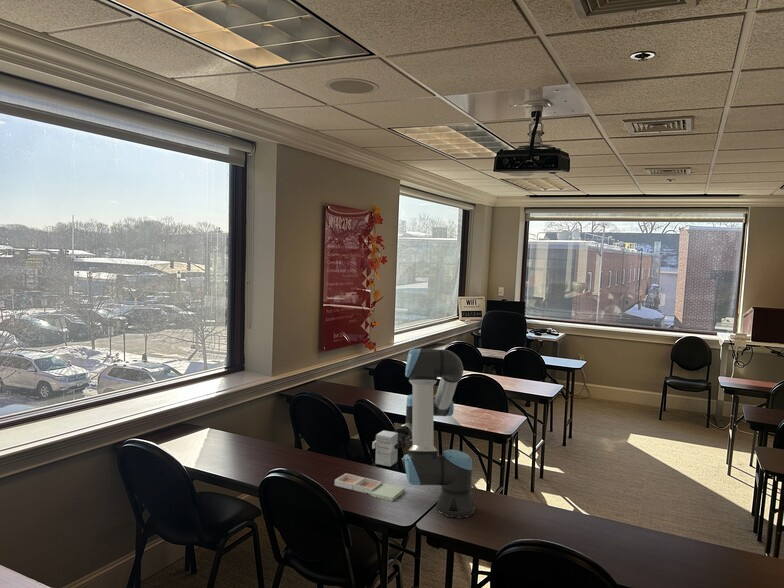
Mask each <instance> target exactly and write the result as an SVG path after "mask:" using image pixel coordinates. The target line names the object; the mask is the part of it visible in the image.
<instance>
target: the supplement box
mask: <svg viewBox="0 0 784 588" xmlns="http://www.w3.org/2000/svg"><path fill="white" fill-rule="evenodd" d="M375 436H376V448H375V464H377V465H381V466H386V467H392V466H393V465H394V464H396V463H397V462H398V453H399V452H398V449H399V448H398V449H395V450H394V451H392V452H389V448H390V445H391V444H393V443H395V442H398V433H396V432H394V431H389V430H382V431H380V432H378V433H377V434H375Z"/></svg>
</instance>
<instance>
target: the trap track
mask: <svg viewBox="0 0 784 588" xmlns="http://www.w3.org/2000/svg"><path fill="white" fill-rule="evenodd" d="M334 486H335V487H338V488H341V489H343V488H344V489H347V490H351V491H356V492H358V493H364V494H367V493H368V494H367V495H370V497H372V496H373V498H376V497H377V499H380V500H384V501H385V500H386V501H388V502H393V501H395V500H396V499H397V498H399V497H400V496H401V495H402V494H403V493H405V492H404V491H406V488H405V487H402V486H398V485H394V484H389V483H385V482H384V483H383V481H380V480H376V479H373V478H367V477H362V476H358V475H355V474H350V473H344V474H342V475H340V476H339V477H337V478H335V479H334Z"/></svg>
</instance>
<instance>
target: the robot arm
mask: <svg viewBox="0 0 784 588" xmlns="http://www.w3.org/2000/svg"><path fill="white" fill-rule="evenodd" d="M463 365H464V364H463V362H462V360H461V358H460V357H459V356H458V355H457V354H456V353H454V352H453V351H451V350H448V349H444V348H443V349H442V348H441V349H439V348H438V349H437V348H436V349H433V348H413V349H410V350H409V351H408V354H407V358H406V365H405V373H404V375H405V377H406V378H408V382H409V383H410V384H411V385H412V394H409V395H408V396H407V397H406V404H405V405H406V407H405V410H406V411H405V415H406V416H405V423H404V424H402V425H400V426H399V427H397V428H396V429H395V430H394V431H393V432H396V433H398V442H395V443H393V444H391V445H390V448H389V452H392V451H394V450H395V449H406V448H407V447H408V446H409V445H410V444H411V446H410V448H409V449H408V453H407V454H405V455H404V466H405V467H404V468H405V474H406V479H407V482H408V483H409V484H410V485H412V486H420V487H421V486H441V491H440V494H439V497H438V500H437V503H436V510H437V509H438V511H440V512H442V513H443V514H446V515H448V516H453V517H465V516H470V515H472V514H473V513H474V514H475V509H476V508H475V503H474V498H473V495H472V478H473V477H472V472H473V460H472V458H471V456H470V455H469V454H468V453H465V452H463V451H462V450H456V449H446V450H445V449H444V450H443V451H442V454H438V449H437V448H436V447H435V446H434V444H435V443H434V441H435V439H434V417H451V416H453V414H454V410H455V408H454V407H455V406H454V401H453V397H454V395H455V391H456V388H457V385H458V383H459V382H460V381H461V380H462V377H463V375H464V366H463ZM438 378H440V380H439V383H438V386H437V390H436V395H435V398H434V385H436V384H437V382H438ZM371 443H372V445H371V449H373V450H374V449H376V435H375V436H374V441H372V442H371ZM438 511H437V512H438ZM474 514H473V515H474ZM473 515H472V516H473ZM470 517H471V516H470Z"/></svg>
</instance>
